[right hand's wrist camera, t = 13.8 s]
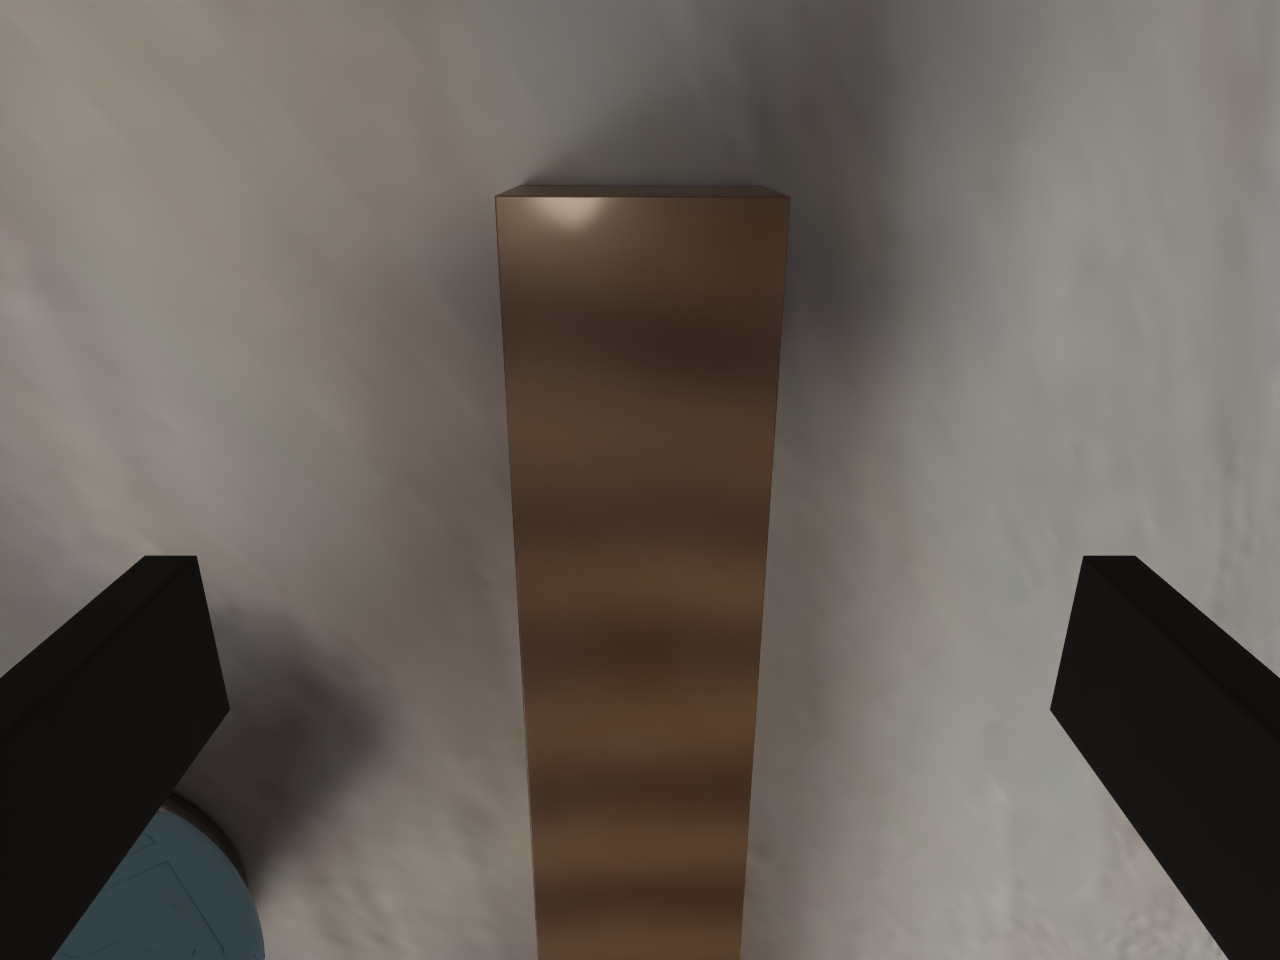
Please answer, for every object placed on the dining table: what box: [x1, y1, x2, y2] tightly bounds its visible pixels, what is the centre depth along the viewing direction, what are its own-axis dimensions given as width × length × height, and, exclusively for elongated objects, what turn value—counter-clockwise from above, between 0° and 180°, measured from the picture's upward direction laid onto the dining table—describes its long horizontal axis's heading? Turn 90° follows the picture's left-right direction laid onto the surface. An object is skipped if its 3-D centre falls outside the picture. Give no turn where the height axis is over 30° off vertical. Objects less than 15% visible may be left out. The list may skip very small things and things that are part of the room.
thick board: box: [495, 185, 790, 960], centre depth 42 cm, size 51×10×6 cm, turn 0°
